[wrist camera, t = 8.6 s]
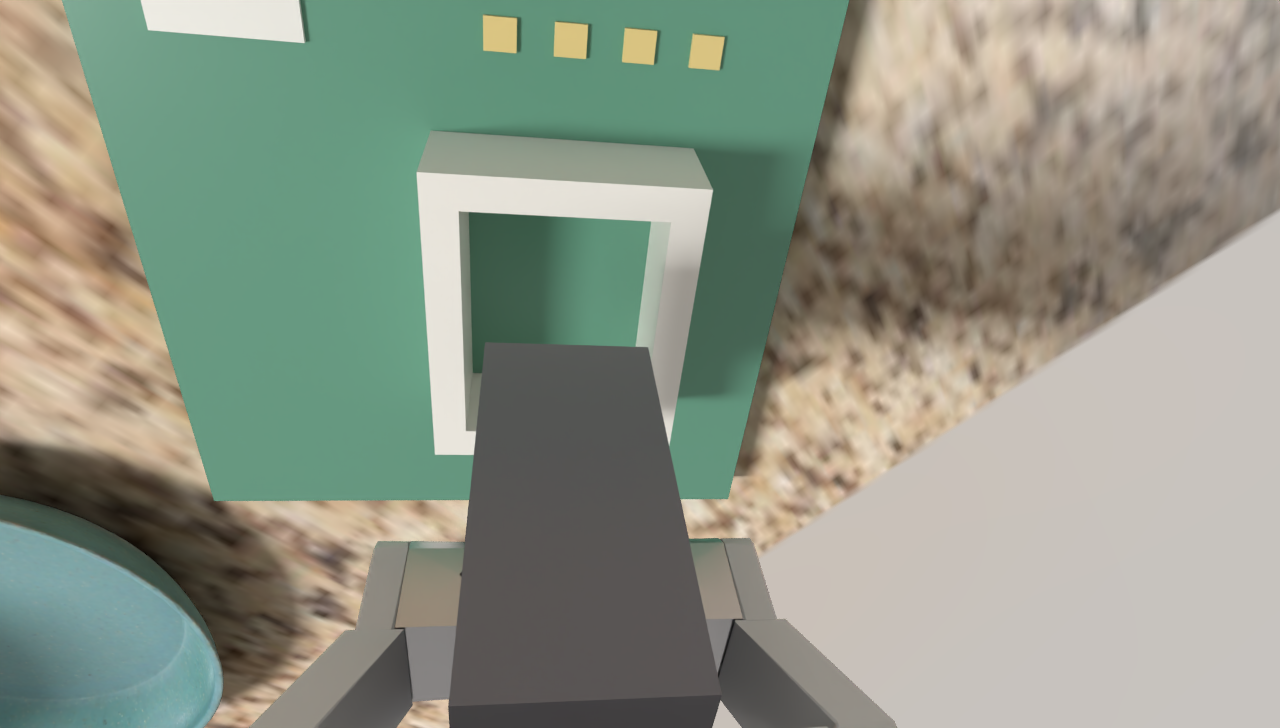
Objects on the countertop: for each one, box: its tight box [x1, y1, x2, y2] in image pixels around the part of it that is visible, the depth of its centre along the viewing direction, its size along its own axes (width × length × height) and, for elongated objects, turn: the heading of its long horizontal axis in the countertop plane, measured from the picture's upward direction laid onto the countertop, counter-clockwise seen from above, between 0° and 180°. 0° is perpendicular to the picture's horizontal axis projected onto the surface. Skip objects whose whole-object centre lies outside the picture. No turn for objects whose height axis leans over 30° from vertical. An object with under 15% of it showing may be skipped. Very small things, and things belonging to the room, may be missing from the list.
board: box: [62, 0, 849, 501], centre depth 18 cm, size 20×16×4 cm
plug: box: [448, 342, 722, 728], centre depth 12 cm, size 4×3×7 cm, turn 174°
